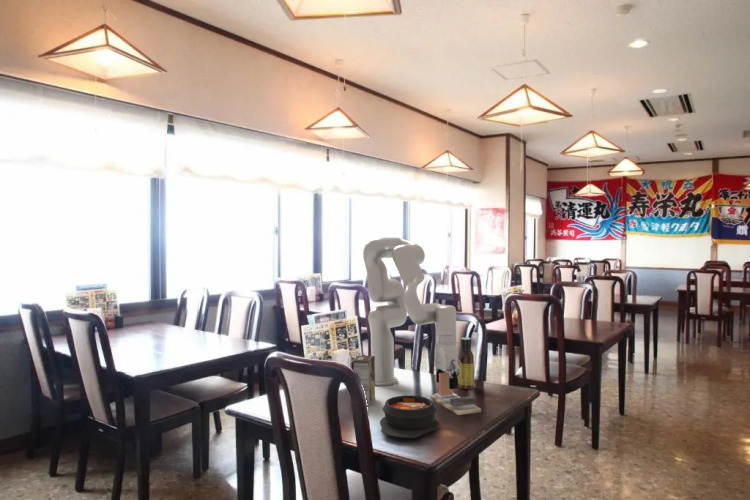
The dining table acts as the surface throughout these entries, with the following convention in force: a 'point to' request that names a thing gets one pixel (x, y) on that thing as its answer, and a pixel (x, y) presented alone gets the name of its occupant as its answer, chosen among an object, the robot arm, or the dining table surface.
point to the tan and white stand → (444, 386)
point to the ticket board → (459, 412)
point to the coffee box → (366, 375)
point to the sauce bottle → (466, 365)
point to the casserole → (408, 416)
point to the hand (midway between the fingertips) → (446, 385)
